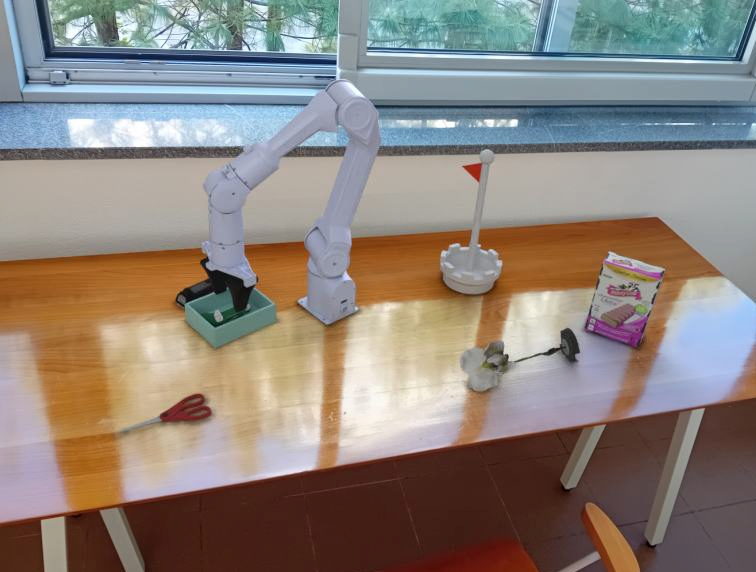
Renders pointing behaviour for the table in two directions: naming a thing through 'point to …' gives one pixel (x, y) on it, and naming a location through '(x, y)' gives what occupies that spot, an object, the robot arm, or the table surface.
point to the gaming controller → (224, 316)
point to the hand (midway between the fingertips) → (230, 300)
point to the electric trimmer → (196, 291)
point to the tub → (233, 329)
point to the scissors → (179, 412)
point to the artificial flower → (506, 360)
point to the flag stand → (472, 245)
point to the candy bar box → (624, 299)
